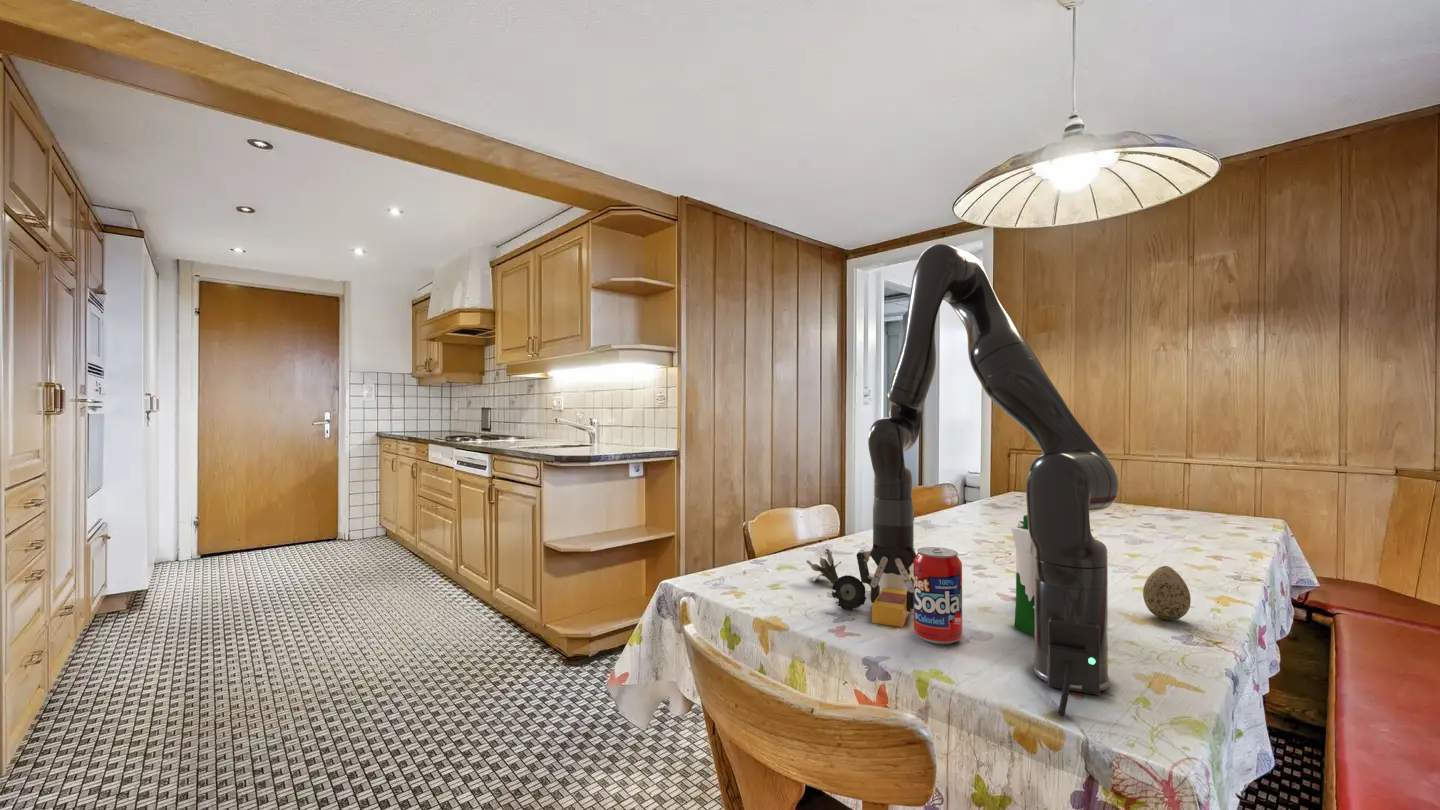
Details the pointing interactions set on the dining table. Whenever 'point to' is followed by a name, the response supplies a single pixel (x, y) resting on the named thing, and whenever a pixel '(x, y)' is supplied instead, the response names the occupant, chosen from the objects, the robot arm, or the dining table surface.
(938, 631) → the soda can
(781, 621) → the dining table surface
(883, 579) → the mug
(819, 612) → the dining table surface
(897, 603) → the tea packet
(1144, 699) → the dining table surface
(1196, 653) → the dining table surface
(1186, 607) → the decorative egg
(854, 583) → the dark long pronged piece
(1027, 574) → the milk carton
